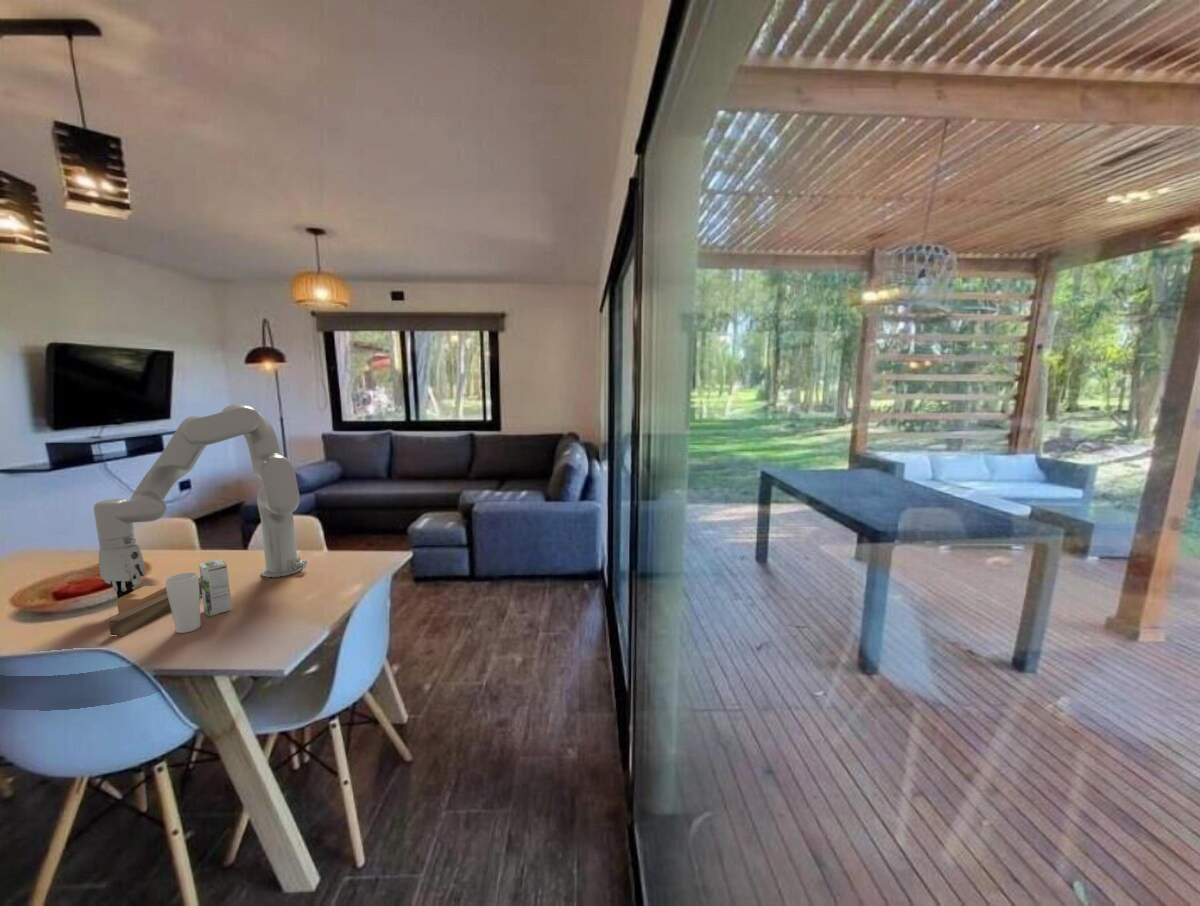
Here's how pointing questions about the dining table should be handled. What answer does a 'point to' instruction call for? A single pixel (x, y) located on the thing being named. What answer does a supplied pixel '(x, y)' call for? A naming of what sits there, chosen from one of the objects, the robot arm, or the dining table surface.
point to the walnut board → (141, 615)
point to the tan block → (139, 597)
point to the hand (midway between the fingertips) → (126, 602)
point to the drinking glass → (184, 601)
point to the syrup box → (215, 587)
